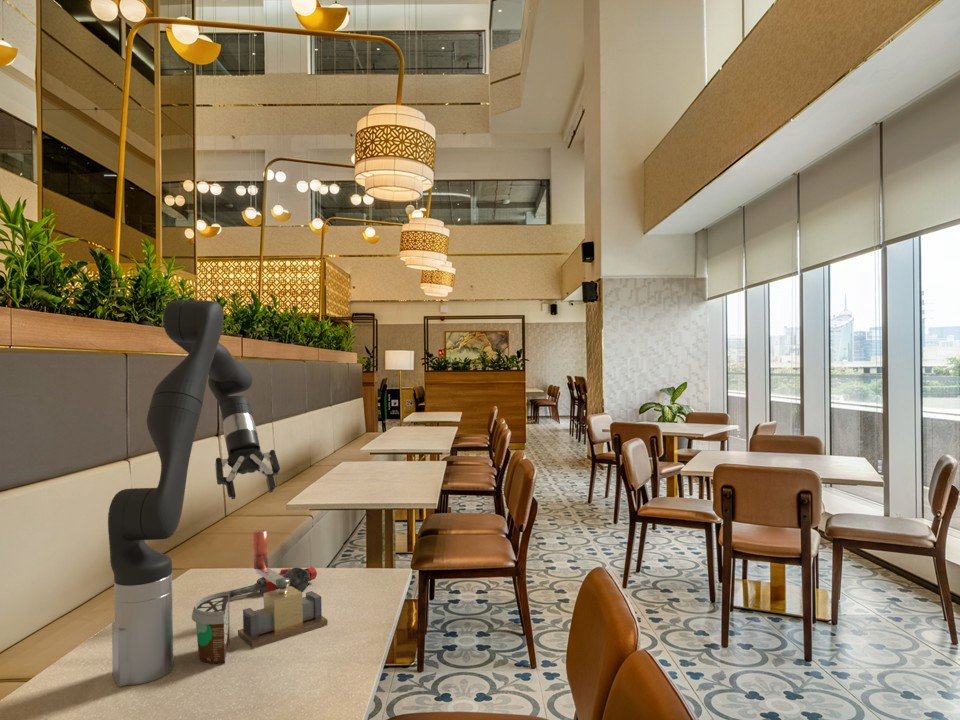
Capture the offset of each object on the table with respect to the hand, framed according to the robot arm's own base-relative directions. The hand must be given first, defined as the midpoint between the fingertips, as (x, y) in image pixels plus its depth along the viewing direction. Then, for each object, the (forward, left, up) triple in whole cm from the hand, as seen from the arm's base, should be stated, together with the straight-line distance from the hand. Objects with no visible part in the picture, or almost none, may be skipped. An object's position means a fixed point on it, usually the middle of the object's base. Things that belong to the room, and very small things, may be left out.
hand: (252, 494), depth 144 cm
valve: (+4, +6, -26) cm, 27 cm away
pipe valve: (-2, -21, -25) cm, 33 cm away
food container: (-17, -22, -26) cm, 37 cm away
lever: (-2, -15, -16) cm, 22 cm away
